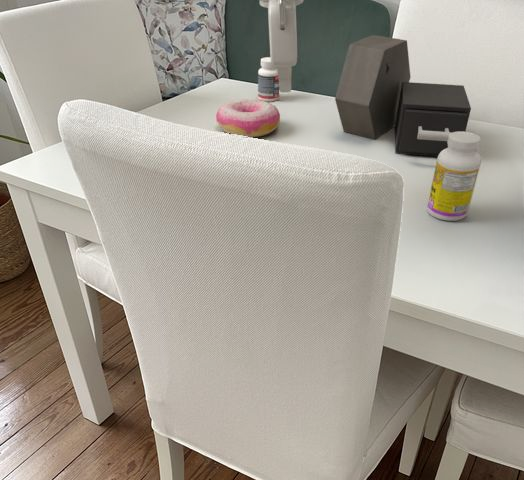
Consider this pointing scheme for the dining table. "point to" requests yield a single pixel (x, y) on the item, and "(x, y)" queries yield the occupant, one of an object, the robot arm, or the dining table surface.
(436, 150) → the air fryer basket
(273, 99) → the pill bottle
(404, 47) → the dark brown block
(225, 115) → the donut
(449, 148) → the supplement bottle
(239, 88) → the dining table surface
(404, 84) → the box
